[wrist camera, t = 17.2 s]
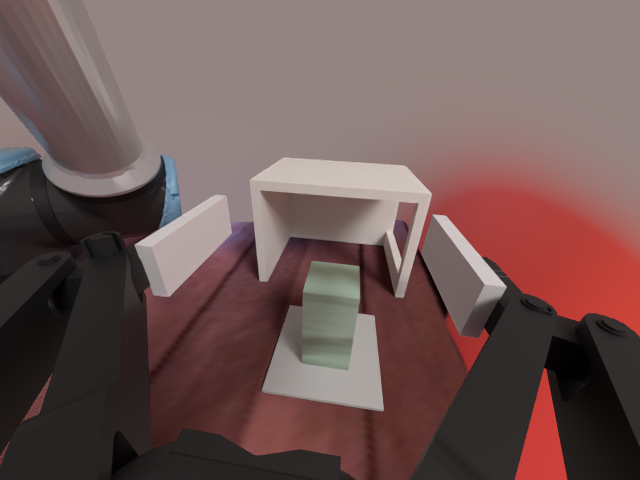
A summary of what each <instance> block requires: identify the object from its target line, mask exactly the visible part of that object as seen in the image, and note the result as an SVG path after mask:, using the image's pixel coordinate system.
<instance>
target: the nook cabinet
mask: <svg viewBox="0 0 640 480" xmlns="http://www.w3.org/2000/svg"><path fill="white" fill-rule="evenodd" d="M250 189H251V199H252V209H253V219H254V230H255V240H256V250H257V260H258V271H259V281H261V282H267V281H268V280H269V278H270V276H271V274H272V272H273V270H274V268H275V266H276V264H277V262H278V260H279V258H280V256H281V254H282V252H283V250H284V248H285V246H286V244H287V242H288V240H289V238H290V237H298V238H309V239H319V240H329V241H339V242H349V243H360V244H370V245H380V246H384V250H385V254H386V259H387V263H388V268H389V272H390V277H391V281H392V286H393V290H394V295H395V297H399V298H403V297H404V294H405V290H406V287H407V283H408V279H409V276H410V272H411V269H412V265H413V261H414V258H415V254H416V251H417V247H418V243H419V239H420V236H421V233H422V229H423V225H424V222H425V218H426V214H427V211H428V207H429V203H430V200H431V196H432V194H431V192H429V190H428V189H427V188H426V187H425V186H424V185H423V184H422V183H421V182H420V181H419V180H418V179H417V178H416V177H415V176H414V175H413V173H412V172H411V171H410V170H409V169H408V168H407V167H406V166H402V165H386V164H372V163H357V162H343V161H328V160H314V159H299V158H282V159H281V160H279V161H278V162H276V163H275V164H273V165H272V166H270V167H269V168H267V169H266V170H264V171H263V172H261V173H259V174H258V175H257V176H255V177H253V178H252V179H250ZM399 202H411V203H416V204H415V208H414V212H413V216H412V220H411V224H410V228H409V232H408V236H407V240H406V244H405V248H404V252H403V256H402V260H401V257H400V254H399V250H398V247H397V244H396V241H395V238H394V235H393V228H394V224H395V219H396V214H397V209H398V204H399Z"/></svg>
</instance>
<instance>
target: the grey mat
mask: <svg viewBox="0 0 640 480" xmlns="http://www.w3.org/2000/svg"><path fill="white" fill-rule="evenodd" d="M302 316H303V307H301V306H293V305H290V306H289V309H288V312H287V315H286V318H285V321H284V324H283V327H282V330H281V334H280V337H279V340H278V343H277V346H276V349H275V352H274V355H273V358H272V361H271V364H270V367H269V370H268V373H267V376H266V379H265V382H264V385H263V388H262V392H263V393H269V394H276V395H282V396H288V397H294V398H301V399H307V400H313V401H320V402H326V403H332V404H339V405H345V406H351V407H357V408H364V409H370V410H376V411H383V410H384V407H383V397H382V387H381V378H380V368H379V358H378V348H377V338H376V328H375V318H374V316H373V315H365V314H357V320H356V326H355V333H354V339H353V345H352V351H351V357H350V363H349V369H348V370H341V369H334V368H328V367H321V366H315V365H308V364H302Z"/></svg>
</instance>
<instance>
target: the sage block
mask: <svg viewBox="0 0 640 480" xmlns="http://www.w3.org/2000/svg"><path fill="white" fill-rule="evenodd" d="M359 302H360V278H359V266H353V265H344V264H335V263H326V262H317V261H312V262H311V266H310V269H309V273H308V276H307V279H306V283H305V286H304V290H303V316H302V364H308V365H315V366H321V367H328V368H334V369H341V370H348V369H349V363H350V357H351V351H352V345H353V339H354V333H355V326H356V320H357V314H358V308H359Z"/></svg>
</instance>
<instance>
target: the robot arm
mask: <svg viewBox="0 0 640 480" xmlns="http://www.w3.org/2000/svg"><path fill="white" fill-rule="evenodd" d="M0 97H1V98H2V99H3V100H4V101H5V103H6V104H7V105H8V106H9V107H10V109H11V110H12V111H13V112H14V113H15V115H16V116H17V117H18V118H19V119H20V121H21V122H22V123H23V124H24V125H25V127H26V128H27V129H28V130H29V131H30V133H31V134H32V135H33V136H34V137H35V139H36V140H37V141H38V142H39V143H40V144H41V146H42V147H43V148H44V149H45V151H46V152H45V154H44V156H43V160H41V159H40V158H41V156H40V154H38V153H37V152H36V151H35V150H34V149H32V148H30V147H24V148H22V147H19V148H18V147H15V148H4V149H0V455H1V453H2V452H3V450H4V448H5V447H6V445H7V444H8V442H9V441H10V442H9V445H8V448H7V450H6V453H5V456H4V458H3V461H2V464H1V466H0V480H355V479H354V478H353V477H351V476H350V475H349V474H347V473H345V472H344V471H342V470H340V461H341V457H339V456H334V455H328V454H323V453H317V452H312V451H306V450H301V449H300V450H293V451H287V452H280V453H273V454H267V455H259V456H257V455H253V454H251V453H250V452H248V451H246V450H245V449H243V448H241V447H239V446H238V445H236V444H234V443H233V442H231V441H229V440H228V439H226V438H224V437H223V436H221V435H218V434H212V433H207V432H201V431H196V430H190V429H185V428H183V430H182V431H181V433H180V435H179V437H178V439H177V441H176V442H171V443H168V444H164V445H161V446H159V447H156V448H154V446H153V442H152V438H151V425H150V396H149V367H148V339H147V310H146V295H145V293H144V290H145V289H146V288H147V287H148V286H150V287H151V289H152V292H153V295H156V296H164V297H170V296H171V294H172V293H173V292H174V291H175V290H176V289H177V288H178V287H179V286H180V285H181V284H182V283H183V282H184V281H185V280H186V279H187V278H188V277H189V276H190V275H191V274H192V273H193V272H194V271H195V270H196V269H197V268H198V267H199V266H200V265H201V264H202V263H203V262H204V261H205V260H206V259H207V258H208V257H209V256H210V255H211V254H212V253H213V252H214V251H215V250H216V249H217V248H218V247H219V246H220V245H221V244H222V243H223V242H224V241H225V240H226V239H227V238H228V237H229V236H230V235H231V234H232V231H231V224H230V217H229V210H228V204H227V197H226V196H222V195H214V196H213V197H211V198H209V199H208V200H206V201H204V202H203V203H201V204H200V205H198V206H196V207H195V208H193V209H192V210H190V211H189V212H187V213H185V214H183V215H182V214H181V204H180V197H179V188H178V180H177V172H176V167H175V161H174V159H173V158H171V157H169V156H165V155H160V154H159V152H158V150H157V148H156V147H155V146H154V144H152V142H150V141H149V140H148V139H146V138H145V137H143V136H141V135H139V134H137V131H136V129H135V127H134V124H133V122H132V119H131V117H130V115H129V112H128V109H127V107H126V105H125V102H124V100H123V97H122V95H121V92H120V90H119V87H118V85H117V83H116V80H115V78H114V75H113V73H112V70H111V68H110V66H109V63H108V61H107V58H106V56H105V53H104V51H103V48H102V46H101V44H100V41H99V38H98V36H97V34H96V31H95V29H94V26H93V24H92V21H91V19H90V17H89V14H88V12H87V9H86V7H85V4H84V2H83V0H0ZM146 235H147V236H146ZM138 236H146V237H145V238H142V239H141V240H139V241H138V242H136V243H134V244H133V245H131V246H129V247H128V248H126V246H125V244H124V241H123V238H130V237H138ZM421 254H422V256H423V258H424V260H425V262H426V264H427V266H428V269H429V271H430V273H431V275H432V277H433V279H434V281H435V284H436V286H437V288H438V290H439V292H440V294H441V296H442V299H443V301H444V303H445V305H446V307H447V309H448V311H449V314H450V316H451V318H452V320H453V322H454V324H455V326H456V329H457V331H458V333H459V335H460V336H468V337H475V338H479V336H480V334H481V333H482V331H483V329H484V328H485V329H486V331H487V333H488V334H489V337H488V339H487V341H486V343H485V345H484V346H483V348H482V350H481V351H480V353H479V355H478V357H477V359H476V360H475V362H474V364H473V366H472V368H471V369H470V371H469V373H468V375H467V377H466V378H465V380H464V382H463V384H462V385H461V387H460V389H459V391H458V393H457V394H456V396H455V398H454V400H453V402H452V403H451V405H450V407H449V409H448V411H447V412H446V414H445V416H444V418H443V419H442V421H441V423H440V425H439V427H438V428H437V430H436V432H435V434H434V436H433V437H432V439H431V441H430V443H429V445H428V446H427V448H426V450H425V452H424V453H423V455H422V457H421V459H420V461H419V462H418V464H417V466H416V468H415V470H414V471H413V473H412V475H411V477H410V479H409V480H514V479H515V476H516V472H517V469H518V465H519V461H520V457H521V453H522V450H523V446H524V442H525V438H526V434H527V430H528V427H529V422H530V419H531V415H532V411H533V408H534V403H535V400H536V396H537V392H538V388H539V385H540V381H541V377H542V373H543V369H544V368H546V369H547V374H548V380H549V385H550V390H551V395H552V401H553V406H554V411H555V416H556V421H557V427H558V432H559V437H560V443H561V448H562V453H563V458H564V464H565V469H566V474H567V479H568V480H640V337H639V336H638V335H637V334H636V333H635V332H634V331H633V330H631V329H630V328H629V327H627V326H626V325H625V324H623V323H621V322H619V321H617V320H615V319H612V318H609V317H607V316H603V315H599V314H594V313H593V314H592V313H588V314H586V315H585V316H584V317H583V318H582V319H581V321H580V322H578V321H575V320H571V319H568V318H565V317H562V316H558V315H557V312H556V311H555V309H554V308H553V307H552V306H551V305H549V304H548V303H546V302H545V301H543V300H541V299H539V298H537V297H534V296H531V295H528V294H523V293H522V292H521V291H520V289H519V288H518V287H517V286H516V285H515V284H514V283H513V282H512V281H511V280H510V279H509V278H508V277H507V275H506V274H505V273H504V272H502V270H501V269H500V268H499V267H498V266H497V265H496V263H494V262H493V261H491V260H489V259H488V258H486V257H481V256H480V255H479V254H478V253H477V252H476V251H475V249H474V248H473V247H472V246H471V245H470V243H469V242H468V241H467V240H466V239H465V238H464V236H463V235H462V234H461V233H460V232H459V231H458V229H457V228H456V227H455V226H454V225H453V224H452V222H451V221H450V220H449V219H448V218H447V217H446V216H442V215H433V216H432V219H431V222H430V226H429V229H428V232H427V236H426V239H425V242H424V245H423V249H422V252H421ZM52 372H53V373H52ZM51 374H52V377H51V380H50V383H49V386H48V389H47V393H46V396H45V399H44V402H43V405H42V409H41V411H40V413H39V415H37V416H34V417H32V418H29V419H27V420H25V421H23V422H22V420H23V418H24V417H25V415H26V414H27V412H28V410H29V409H30V407H31V406H32V404H33V403H34V401H35V399H36V398H37V396H38V395H39V393H40V391H41V390H42V388H43V387H44V385H45V383H46V382H47V380H48V379H49V377H50V376H51ZM21 422H22V423H21ZM20 423H21V424H20ZM10 439H11V440H10Z"/></svg>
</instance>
